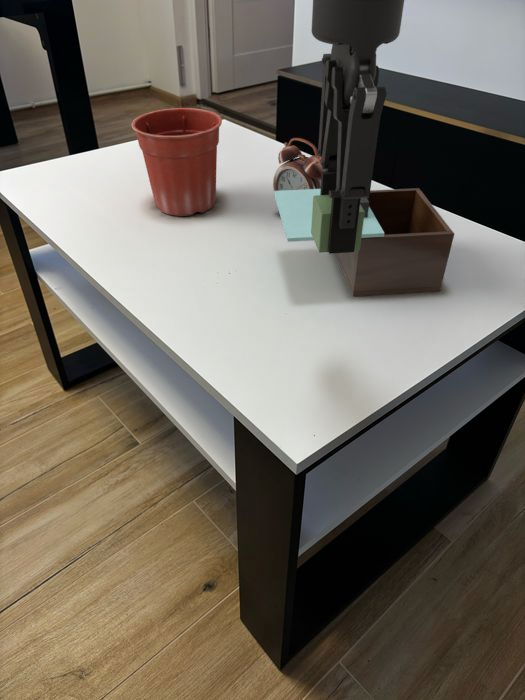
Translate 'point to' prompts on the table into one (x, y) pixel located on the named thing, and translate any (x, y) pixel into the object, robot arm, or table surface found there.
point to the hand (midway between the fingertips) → (335, 238)
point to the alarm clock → (298, 169)
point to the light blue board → (299, 215)
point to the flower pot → (180, 157)
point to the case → (400, 247)
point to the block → (322, 223)
